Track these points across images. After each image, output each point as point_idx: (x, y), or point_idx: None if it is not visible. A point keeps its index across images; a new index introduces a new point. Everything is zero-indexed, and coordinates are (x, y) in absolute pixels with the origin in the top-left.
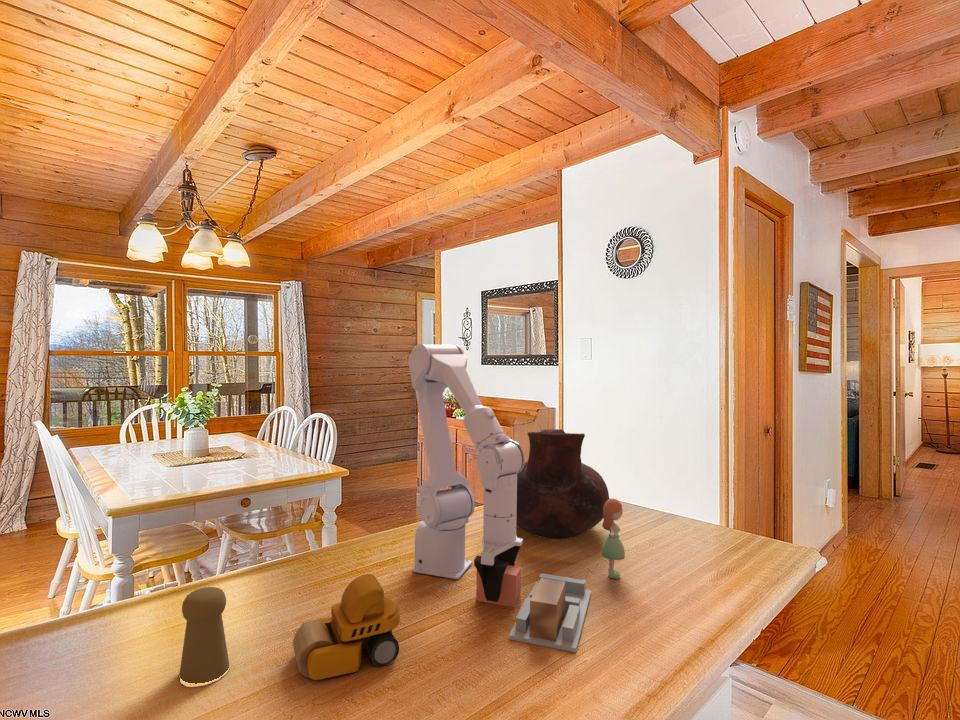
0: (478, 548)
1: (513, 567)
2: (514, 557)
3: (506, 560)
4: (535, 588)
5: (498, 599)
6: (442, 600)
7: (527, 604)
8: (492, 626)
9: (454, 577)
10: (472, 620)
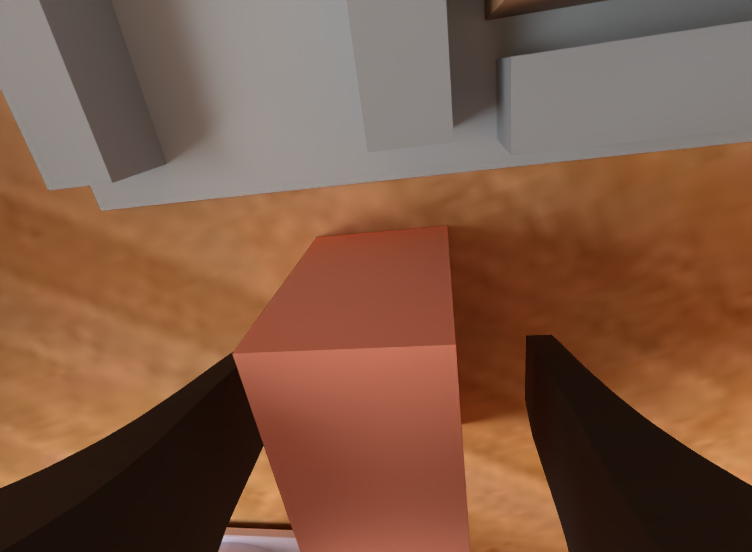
0: None
1: (287, 410)
2: (143, 463)
3: (193, 483)
4: (188, 182)
5: (550, 339)
6: (523, 530)
7: (655, 96)
8: (735, 271)
9: None
10: (684, 382)
